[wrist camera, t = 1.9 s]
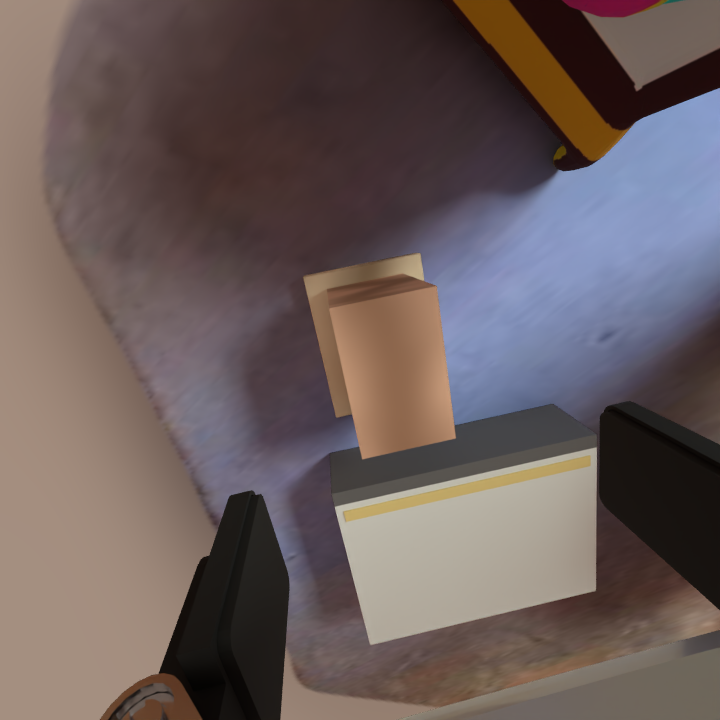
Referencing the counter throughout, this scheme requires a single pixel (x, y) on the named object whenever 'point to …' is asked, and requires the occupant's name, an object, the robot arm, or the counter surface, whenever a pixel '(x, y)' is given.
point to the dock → (470, 522)
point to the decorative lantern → (598, 61)
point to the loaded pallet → (384, 352)
